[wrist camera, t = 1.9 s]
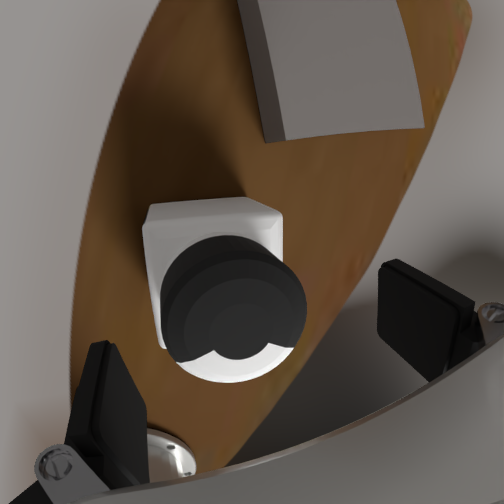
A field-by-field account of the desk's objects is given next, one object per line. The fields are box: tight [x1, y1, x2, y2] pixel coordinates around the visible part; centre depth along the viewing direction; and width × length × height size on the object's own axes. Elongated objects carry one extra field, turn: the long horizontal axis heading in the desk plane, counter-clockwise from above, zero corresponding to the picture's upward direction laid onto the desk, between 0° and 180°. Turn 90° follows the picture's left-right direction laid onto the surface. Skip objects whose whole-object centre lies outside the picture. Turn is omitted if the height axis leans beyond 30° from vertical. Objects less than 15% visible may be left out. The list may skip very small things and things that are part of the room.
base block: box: [237, 0, 424, 143], centre depth 19 cm, size 13×12×4 cm
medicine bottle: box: [142, 197, 307, 383], centre depth 17 cm, size 7×7×12 cm
